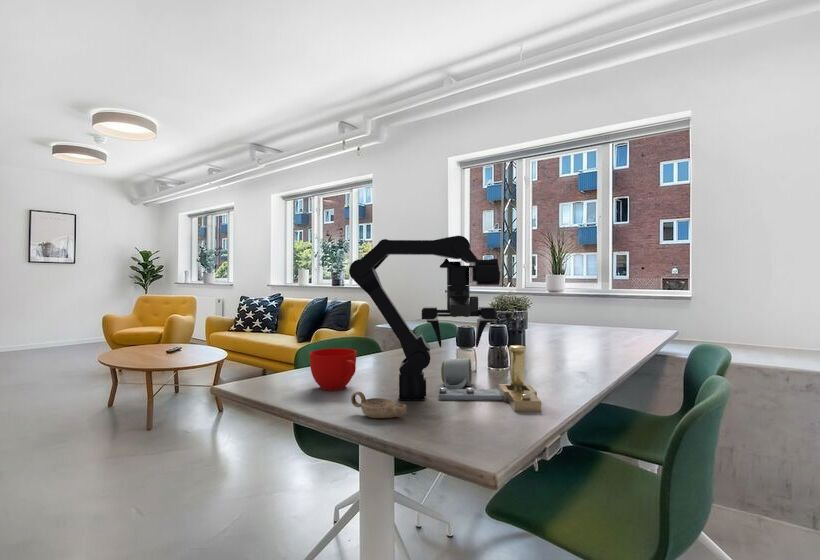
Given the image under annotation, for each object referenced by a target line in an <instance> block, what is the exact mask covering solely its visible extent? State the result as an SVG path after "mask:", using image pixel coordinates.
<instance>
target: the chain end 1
mask: <svg viewBox="0 0 820 560" xmlns="http://www.w3.org/2000/svg"><path fill="white" fill-rule="evenodd" d="M524 391H526V390H524ZM438 400H439V401H503V402H505V403H506V402H507V403H509V402H508V397H504V396H503V394H502V393H501V391H500V389H499V388H498V389H496V388H495V389H492V388H491V389H489V388H488V389H487V388H486V389H483V388H479V389H477V388H474V387H471V386H467V387H466V388H461V389H447V388H446V387H445V386H441V387H438Z"/></svg>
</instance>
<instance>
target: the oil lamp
mask: <svg viewBox="0 0 820 560" xmlns="http://www.w3.org/2000/svg"><path fill="white" fill-rule="evenodd" d="M356 396H359V397H360V399H361V400H360V402H357V399H356ZM350 402H351V404H352V405H353V406H354V407H356V408H360V409H361V410H362V412H363V414H364V415H365V416H367V417H369V418H371V419H391V418H393V419H394V418H399V417H401V416H402V415H404V414H405V412H406V410H407V405H406V404H405V403H404V404H399V403H398V402H397V401H393V400H391V399H389V398H381V397H374V398H373V397H371V398H366V396H365V394H364V392H362V391H355V392H353V393H352V394H351V397H350Z"/></svg>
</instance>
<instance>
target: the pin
mask: <svg viewBox="0 0 820 560" xmlns="http://www.w3.org/2000/svg"><path fill="white" fill-rule="evenodd" d="M509 351H510V384H511V390H522V391H524V384H525V383H524V381H525V369H524V368H525V352H526V351H527V347H526V346H525V345H519V344H515V345H512V344H511V345H509Z"/></svg>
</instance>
